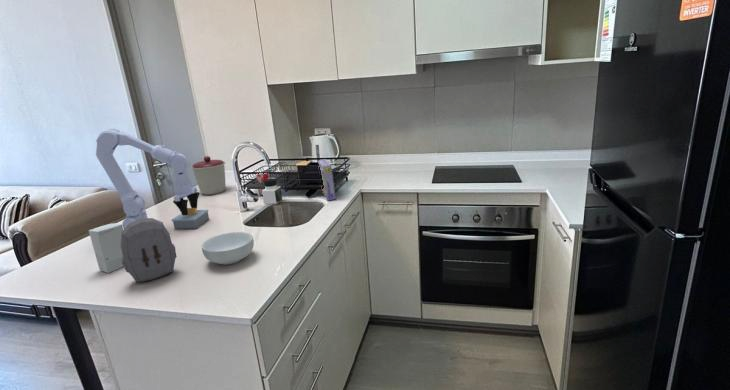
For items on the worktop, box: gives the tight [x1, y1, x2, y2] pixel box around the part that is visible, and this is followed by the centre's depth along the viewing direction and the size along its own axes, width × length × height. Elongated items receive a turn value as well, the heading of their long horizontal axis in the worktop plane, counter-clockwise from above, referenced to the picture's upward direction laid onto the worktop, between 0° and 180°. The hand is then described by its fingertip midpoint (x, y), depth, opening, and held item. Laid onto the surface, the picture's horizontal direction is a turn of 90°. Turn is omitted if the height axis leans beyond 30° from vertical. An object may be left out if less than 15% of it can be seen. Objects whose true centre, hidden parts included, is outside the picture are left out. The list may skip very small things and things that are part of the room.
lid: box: [171, 207, 209, 222], centre depth 167 cm, size 12×11×4 cm
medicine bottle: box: [261, 177, 283, 205], centre depth 191 cm, size 7×7×12 cm
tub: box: [172, 211, 210, 230], centre depth 168 cm, size 11×10×4 cm
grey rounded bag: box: [121, 217, 178, 283], centre depth 119 cm, size 15×8×20 cm, turn 127°
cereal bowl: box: [201, 231, 255, 266], centre depth 130 cm, size 17×17×7 cm
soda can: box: [256, 172, 271, 196], centre depth 206 cm, size 7×7×12 cm
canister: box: [190, 155, 227, 196], centre depth 216 cm, size 18×18×21 cm
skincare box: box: [88, 222, 125, 274], centre depth 130 cm, size 8×6×15 cm
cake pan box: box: [317, 158, 337, 201], centre depth 194 cm, size 19×5×18 cm, turn 14°
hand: (189, 211), depth 167 cm, fingers open, 7 cm apart
